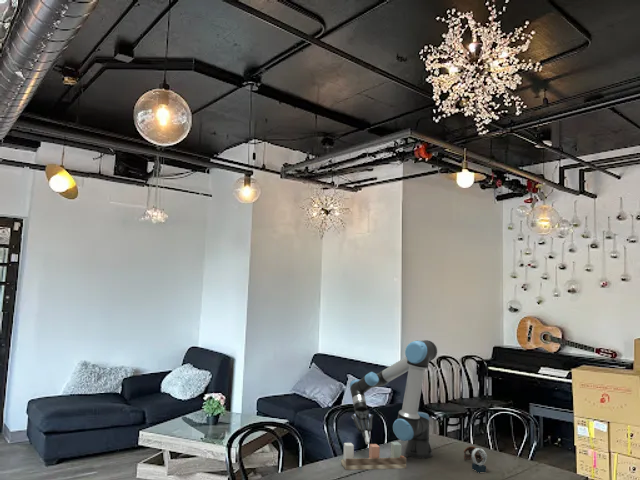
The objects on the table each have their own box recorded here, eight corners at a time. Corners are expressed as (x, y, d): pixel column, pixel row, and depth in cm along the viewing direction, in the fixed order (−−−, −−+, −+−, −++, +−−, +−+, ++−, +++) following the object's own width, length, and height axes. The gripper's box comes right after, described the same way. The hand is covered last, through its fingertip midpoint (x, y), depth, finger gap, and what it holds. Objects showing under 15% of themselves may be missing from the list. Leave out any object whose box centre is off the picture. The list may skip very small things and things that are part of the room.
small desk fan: (489, 472, 241) (488, 449, 243) (476, 473, 239) (476, 450, 240) (482, 468, 246) (481, 446, 248) (469, 469, 244) (469, 447, 245)
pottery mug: (486, 464, 255) (480, 451, 254) (470, 471, 256) (463, 458, 255) (479, 452, 267) (474, 439, 266) (464, 458, 268) (458, 446, 267)
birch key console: (399, 461, 252) (399, 450, 253) (406, 468, 242) (406, 456, 243) (341, 463, 246) (341, 451, 247) (346, 470, 236) (346, 457, 237)
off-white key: (350, 458, 247) (351, 442, 248) (353, 461, 242) (353, 445, 243) (343, 458, 246) (343, 442, 247) (345, 462, 241) (346, 445, 243)
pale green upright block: (397, 457, 252) (398, 442, 253) (401, 460, 247) (401, 444, 248) (390, 457, 251) (391, 442, 252) (393, 460, 246) (394, 444, 247)
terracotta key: (376, 460, 246) (376, 444, 248) (379, 463, 242) (379, 446, 243) (369, 460, 246) (369, 444, 247) (371, 463, 241) (372, 447, 242)
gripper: (369, 408, 278) (377, 446, 260) (347, 408, 276) (354, 446, 257) (372, 400, 274) (380, 438, 255) (350, 401, 271) (357, 439, 253)
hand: (367, 442), depth 256 cm, fingers closed
